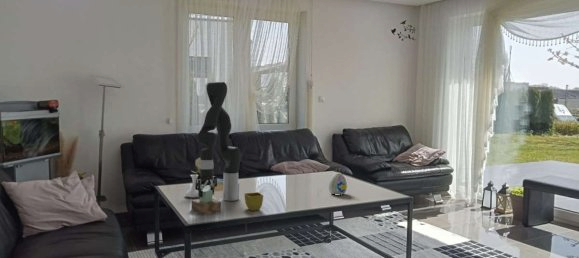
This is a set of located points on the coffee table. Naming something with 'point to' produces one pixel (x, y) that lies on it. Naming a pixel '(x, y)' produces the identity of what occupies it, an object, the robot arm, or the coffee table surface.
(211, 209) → the walnut box
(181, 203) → the coffee table surface
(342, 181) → the decorative egg
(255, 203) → the flower pot
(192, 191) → the flower in vase
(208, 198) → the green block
